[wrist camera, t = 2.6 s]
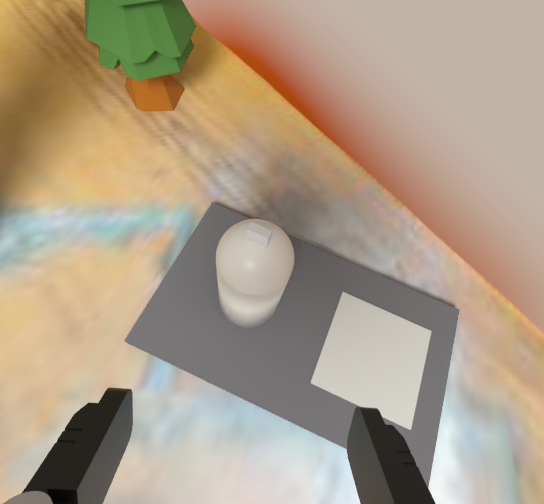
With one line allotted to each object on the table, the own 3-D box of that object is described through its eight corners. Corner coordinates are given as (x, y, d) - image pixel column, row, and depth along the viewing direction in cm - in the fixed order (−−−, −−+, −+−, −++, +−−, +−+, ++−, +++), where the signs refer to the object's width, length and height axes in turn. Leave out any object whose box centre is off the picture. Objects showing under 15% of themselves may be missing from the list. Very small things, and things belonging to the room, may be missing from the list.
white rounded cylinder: (208, 312, 27) (195, 248, 17) (235, 262, 29) (238, 179, 19) (263, 337, 27) (284, 288, 16) (286, 285, 29) (317, 213, 19)
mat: (126, 342, 26) (123, 340, 25) (212, 205, 32) (212, 201, 32) (423, 486, 24) (428, 488, 23) (455, 311, 30) (460, 309, 30)
